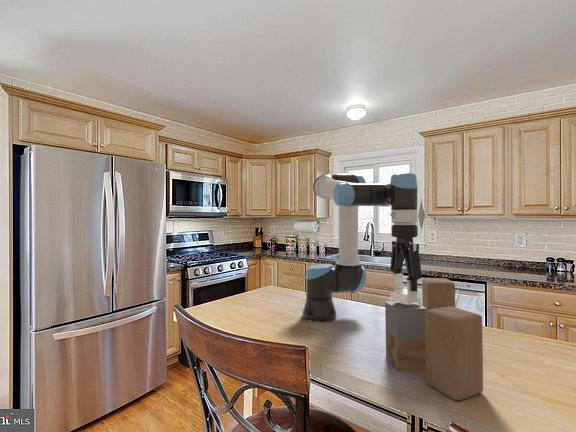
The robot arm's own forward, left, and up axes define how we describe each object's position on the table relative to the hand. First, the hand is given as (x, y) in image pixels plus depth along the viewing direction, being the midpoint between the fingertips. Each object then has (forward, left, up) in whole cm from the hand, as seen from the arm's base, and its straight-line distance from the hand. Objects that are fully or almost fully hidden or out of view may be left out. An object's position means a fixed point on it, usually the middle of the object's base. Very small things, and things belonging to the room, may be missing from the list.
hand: (405, 297), depth 99 cm
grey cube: (0, 0, -11) cm, 11 cm away
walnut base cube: (0, 0, -20) cm, 20 cm away
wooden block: (-26, +25, -20) cm, 41 cm away
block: (+15, +6, -20) cm, 26 cm away
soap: (0, 0, -1) cm, 1 cm away
